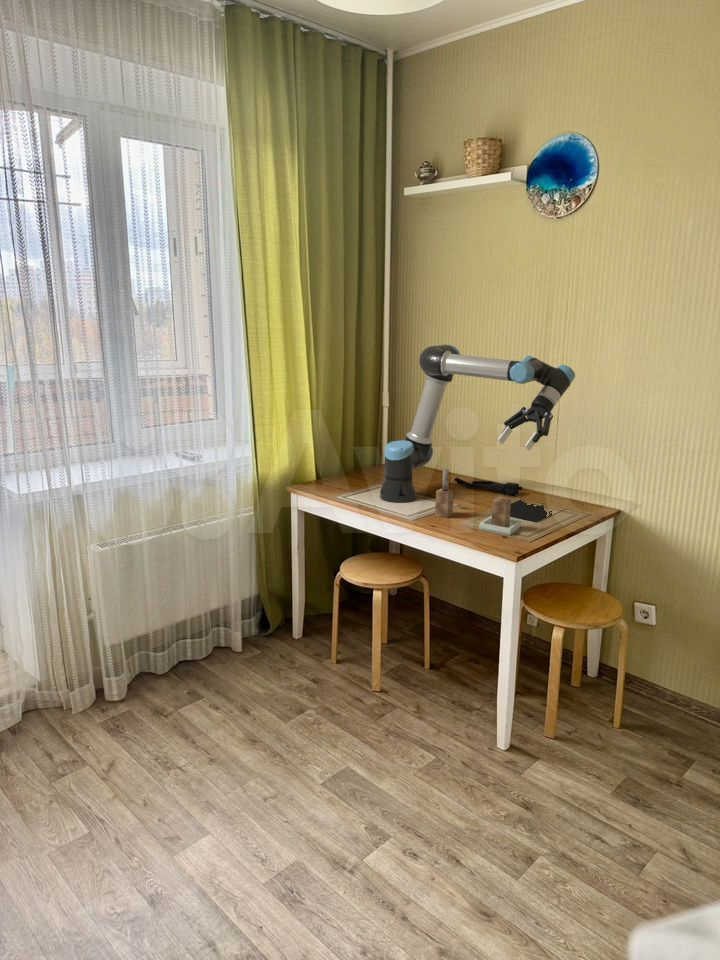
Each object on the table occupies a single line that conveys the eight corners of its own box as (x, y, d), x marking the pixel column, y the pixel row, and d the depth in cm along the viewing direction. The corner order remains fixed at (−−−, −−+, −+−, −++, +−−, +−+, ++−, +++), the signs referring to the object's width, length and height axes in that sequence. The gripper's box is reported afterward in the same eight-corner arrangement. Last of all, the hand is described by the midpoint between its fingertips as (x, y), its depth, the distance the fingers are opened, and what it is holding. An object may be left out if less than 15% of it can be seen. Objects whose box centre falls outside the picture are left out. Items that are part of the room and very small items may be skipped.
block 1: (435, 515, 267) (437, 470, 262) (440, 512, 271) (442, 467, 266) (447, 518, 264) (449, 472, 260) (452, 514, 268) (454, 469, 264)
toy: (450, 489, 311) (512, 498, 294) (450, 478, 310) (512, 487, 293) (461, 485, 319) (522, 493, 301) (461, 474, 318) (522, 482, 300)
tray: (479, 529, 251) (479, 523, 250) (491, 521, 260) (491, 515, 260) (509, 535, 245) (510, 529, 244) (520, 527, 254) (521, 520, 254)
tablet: (536, 522, 259) (489, 512, 271) (536, 524, 259) (488, 514, 271) (566, 508, 279) (521, 499, 291) (566, 510, 279) (521, 500, 292)
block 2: (491, 526, 252) (492, 500, 249) (496, 523, 256) (498, 497, 253) (504, 529, 249) (506, 502, 247) (509, 525, 253) (511, 499, 251)
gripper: (576, 412, 248) (543, 457, 244) (525, 403, 268) (494, 445, 264) (567, 398, 244) (534, 444, 240) (516, 390, 264) (484, 433, 260)
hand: (513, 445), depth 252 cm, fingers open, 13 cm apart
